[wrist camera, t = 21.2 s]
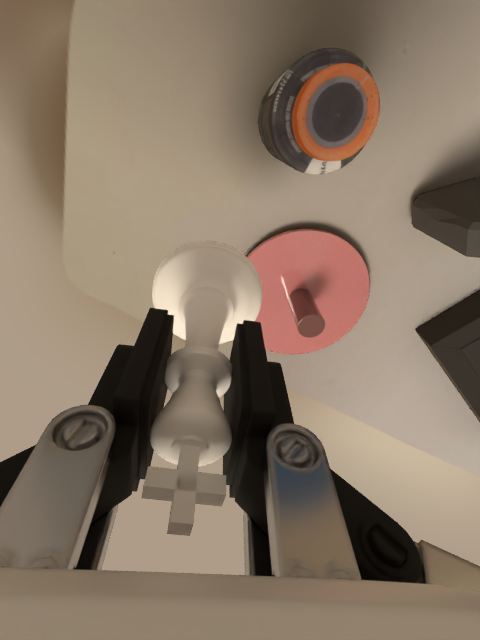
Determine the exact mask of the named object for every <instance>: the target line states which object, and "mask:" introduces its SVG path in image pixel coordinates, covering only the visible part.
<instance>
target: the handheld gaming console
mask: <svg viewBox="0 0 480 640" xmlns="http://www.w3.org/2000/svg"><path fill="white" fill-rule="evenodd" d="M412 224H413V227H414V228H416V229H418V230H420V231H422V232H423V233H425V234H427V235H429V236H431V237H432V238H434V239H436V240H438V241H440V242H441V243H443V244H445V245H447V246H449V247H450V248H452V249H454V250H456V251H458V252H459V253H461V254H463V255H465V256H469V257H479V258H480V177H478V178H474V179H471V180H467V181H464V182H460V183H456V184H453V185H449V186H446V187H442V188H439V189H436V190H433V191H430V192H426V193H423V194H420V195H419V197H418V198H417V199H416V200H415V201H414V203H413V204H412Z"/></svg>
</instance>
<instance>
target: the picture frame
mask: <svg viewBox="0 0 480 640" xmlns="http://www.w3.org/2000/svg"><path fill="white" fill-rule="evenodd" d="M416 332H417V333H418V334H419V336H420V337H421V339H422V340H423V342H424V343H425V344H426V346H427V347H428V349H429V350H430V352H431V353H432V354H433V356H434V357H435V359H436V360H437V362H438V363H439V364H440V366H441V367H442V369H443V370H444V372H445V373H446V374H447V376H448V377H449V379H450V380H451V382H452V383H453V384H454V386H455V387H456V389H457V390H458V392H459V393H460V395H461V396H462V397H463V399H464V400H465V402H466V403H467V405H468V406H469V407H470V409H471V410H472V412H473V413H474V415H475V416H476V417H477V419H478V420H479V422H480V291H478V292H476V293H475V294H473V295H471V296H470V297H468V298H466V299H465V300H463V301H462V302H460V303H458V304H457V305H455V306H453V307H452V308H450V309H448V310H447V311H445V312H443V313H442V314H440V315H438V316H437V317H435V318H434V319H432V320H430V321H429V322H427V323H425V324H424V325H422V326H420V327H419V328H417V329H416Z"/></svg>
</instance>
